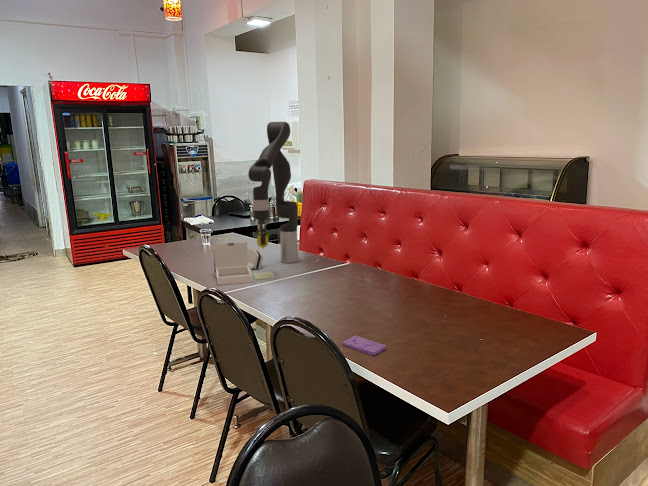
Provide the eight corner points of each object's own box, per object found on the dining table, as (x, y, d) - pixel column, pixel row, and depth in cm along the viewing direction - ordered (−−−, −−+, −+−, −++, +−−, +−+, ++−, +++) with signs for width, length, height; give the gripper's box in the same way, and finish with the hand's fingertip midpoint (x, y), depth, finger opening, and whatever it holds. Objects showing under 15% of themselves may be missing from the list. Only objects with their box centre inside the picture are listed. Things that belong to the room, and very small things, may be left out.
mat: (271, 272, 246) (271, 271, 246) (274, 278, 236) (274, 277, 236) (253, 274, 244) (253, 273, 244) (255, 280, 234) (255, 279, 234)
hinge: (240, 263, 266) (245, 246, 265) (247, 265, 268) (253, 248, 268) (251, 270, 251) (256, 252, 251) (259, 272, 254) (264, 254, 254)
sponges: (355, 340, 163) (355, 335, 163) (386, 350, 155) (386, 344, 154) (342, 347, 158) (342, 341, 157) (374, 357, 150) (374, 352, 149)
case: (248, 271, 250) (246, 241, 246) (252, 282, 230) (250, 250, 227) (214, 274, 246) (212, 243, 243) (215, 285, 226) (213, 252, 223)
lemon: (254, 249, 235) (253, 229, 233) (257, 247, 241) (256, 227, 239) (268, 249, 234) (267, 229, 232) (270, 247, 240) (270, 227, 238)
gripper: (271, 210, 227) (272, 246, 231) (267, 206, 241) (268, 240, 245) (254, 211, 226) (256, 247, 229) (251, 207, 239) (253, 241, 243)
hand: (262, 243), depth 237 cm, fingers closed on lemon, 5 cm apart
